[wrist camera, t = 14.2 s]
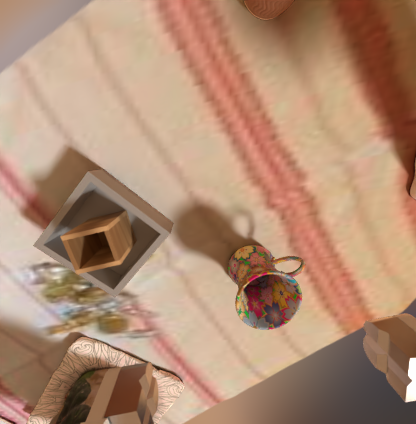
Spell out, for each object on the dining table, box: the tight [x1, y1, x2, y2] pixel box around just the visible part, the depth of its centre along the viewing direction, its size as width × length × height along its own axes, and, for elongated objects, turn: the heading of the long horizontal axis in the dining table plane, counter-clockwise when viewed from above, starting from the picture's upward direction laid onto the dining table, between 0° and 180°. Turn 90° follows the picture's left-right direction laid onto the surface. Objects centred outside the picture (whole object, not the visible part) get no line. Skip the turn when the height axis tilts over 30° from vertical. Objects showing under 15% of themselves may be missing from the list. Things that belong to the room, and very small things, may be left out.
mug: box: [228, 245, 305, 330], centre depth 35 cm, size 12×9×11 cm
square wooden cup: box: [60, 210, 137, 274], centre depth 32 cm, size 6×6×8 cm
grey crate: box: [33, 169, 173, 297], centre depth 34 cm, size 14×14×5 cm
